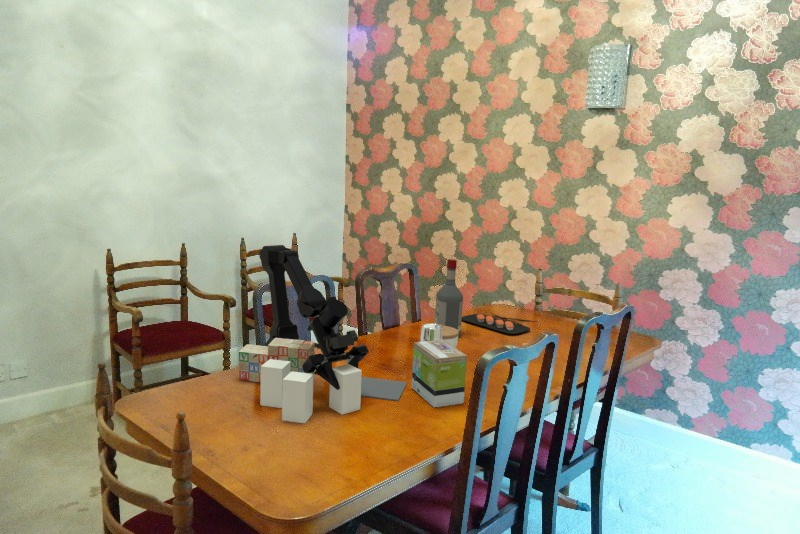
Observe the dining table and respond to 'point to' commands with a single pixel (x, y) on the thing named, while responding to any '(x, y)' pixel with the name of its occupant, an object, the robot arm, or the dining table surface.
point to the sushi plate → (497, 323)
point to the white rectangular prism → (346, 389)
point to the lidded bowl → (450, 335)
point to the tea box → (439, 373)
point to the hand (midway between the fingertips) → (348, 386)
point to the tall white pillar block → (297, 397)
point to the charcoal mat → (382, 388)
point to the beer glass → (431, 332)
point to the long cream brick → (273, 382)
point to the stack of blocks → (273, 356)
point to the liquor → (449, 300)
